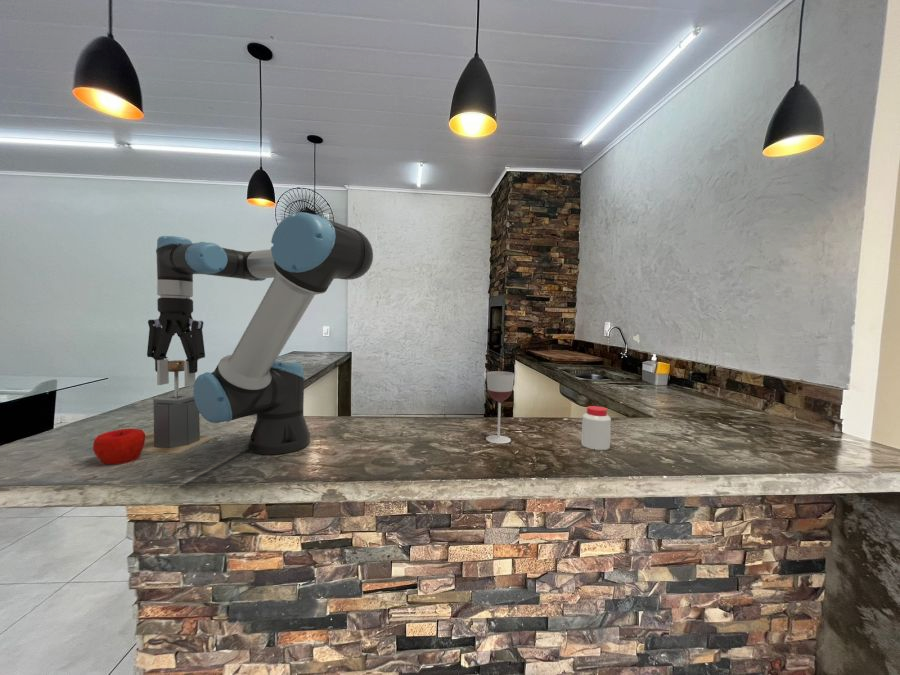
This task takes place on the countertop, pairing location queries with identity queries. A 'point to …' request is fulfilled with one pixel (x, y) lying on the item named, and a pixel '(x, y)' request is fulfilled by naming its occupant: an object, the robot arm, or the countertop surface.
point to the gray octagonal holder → (175, 421)
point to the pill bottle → (596, 428)
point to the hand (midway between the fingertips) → (176, 384)
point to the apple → (119, 446)
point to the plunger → (176, 373)
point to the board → (150, 448)
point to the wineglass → (499, 396)
